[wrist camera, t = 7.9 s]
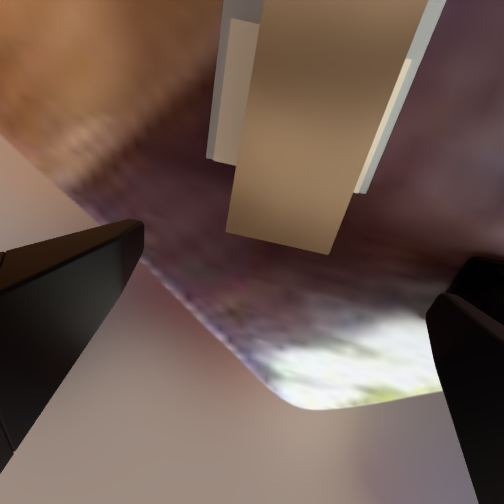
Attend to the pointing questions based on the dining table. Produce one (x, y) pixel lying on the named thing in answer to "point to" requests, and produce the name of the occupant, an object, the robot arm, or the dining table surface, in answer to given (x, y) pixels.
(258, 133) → the walnut block
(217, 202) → the dining table surface
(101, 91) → the dining table surface
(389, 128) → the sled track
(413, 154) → the dining table surface
